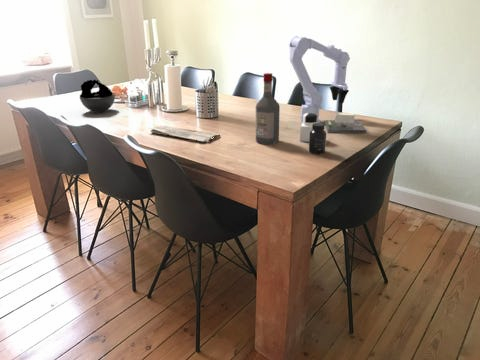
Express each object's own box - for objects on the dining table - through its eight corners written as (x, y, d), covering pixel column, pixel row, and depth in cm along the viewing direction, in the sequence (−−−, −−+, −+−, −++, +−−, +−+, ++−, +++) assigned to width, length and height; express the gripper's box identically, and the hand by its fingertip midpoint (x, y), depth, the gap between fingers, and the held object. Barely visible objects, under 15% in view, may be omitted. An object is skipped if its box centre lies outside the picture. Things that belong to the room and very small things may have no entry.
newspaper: (220, 138, 186) (220, 130, 184) (205, 145, 176) (205, 137, 174) (162, 128, 202) (161, 122, 200) (146, 135, 192) (145, 128, 191)
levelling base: (327, 132, 189) (328, 127, 188) (323, 123, 205) (323, 117, 204) (365, 133, 187) (366, 127, 186) (358, 123, 204) (359, 117, 203)
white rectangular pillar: (353, 125, 194) (354, 114, 191) (334, 125, 195) (335, 114, 193) (353, 124, 196) (354, 113, 194) (334, 123, 198) (335, 112, 196)
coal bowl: (87, 108, 245) (81, 78, 238) (119, 107, 247) (115, 76, 239) (78, 116, 227) (72, 83, 219) (113, 115, 229) (109, 82, 221)
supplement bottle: (306, 149, 167) (308, 122, 162) (322, 149, 167) (324, 121, 163) (310, 155, 161) (312, 126, 156) (327, 154, 161) (329, 126, 156)
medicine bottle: (317, 138, 182) (319, 112, 177) (315, 142, 175) (316, 116, 171) (302, 136, 184) (303, 111, 179) (299, 141, 178) (300, 115, 173)
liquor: (271, 145, 173) (272, 76, 161) (253, 142, 177) (253, 74, 165) (280, 140, 180) (282, 73, 168) (263, 137, 184) (263, 71, 172)
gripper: (354, 77, 198) (351, 103, 204) (340, 73, 211) (338, 98, 216) (341, 77, 197) (338, 104, 202) (328, 73, 210) (326, 99, 215)
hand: (337, 101), depth 209 cm, fingers open, 7 cm apart
